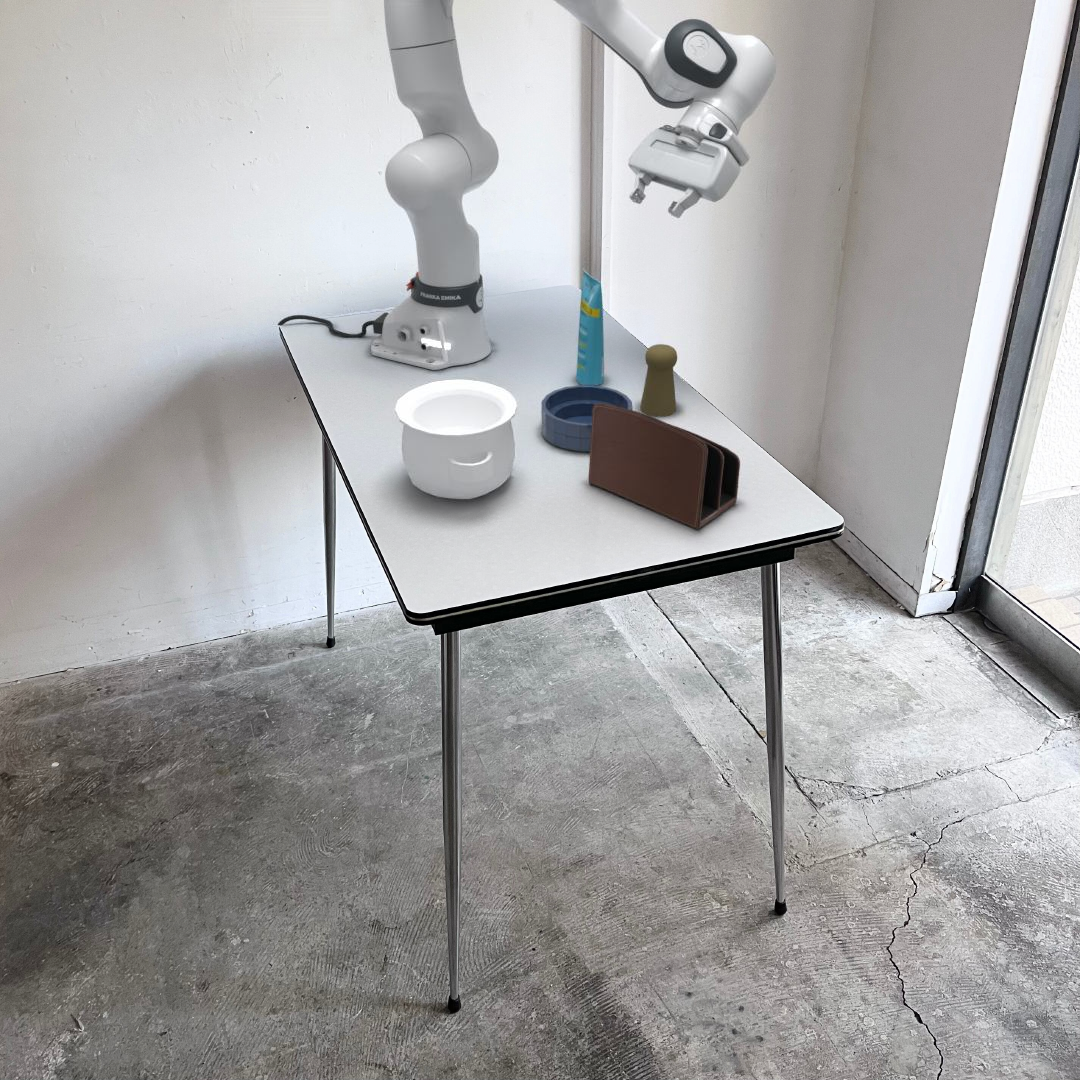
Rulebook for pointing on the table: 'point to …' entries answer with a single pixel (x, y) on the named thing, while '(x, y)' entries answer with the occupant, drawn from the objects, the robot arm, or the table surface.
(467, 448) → the pot
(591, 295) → the tube
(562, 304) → the table surface
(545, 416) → the bowl
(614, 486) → the letter holder
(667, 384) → the cork
